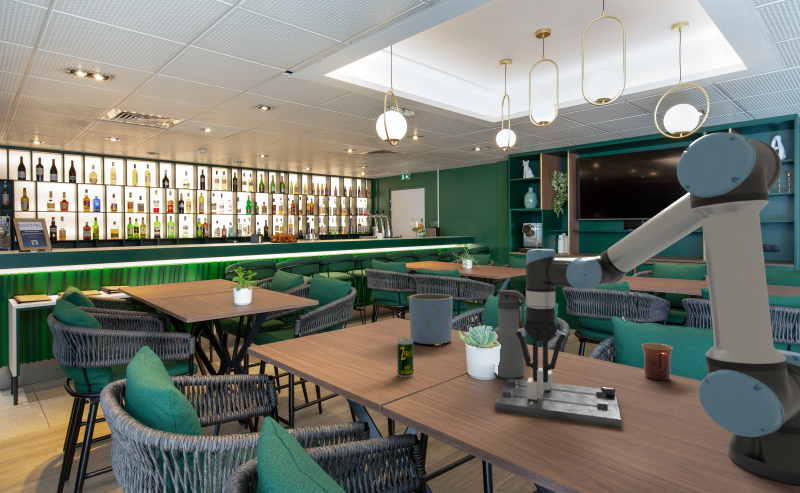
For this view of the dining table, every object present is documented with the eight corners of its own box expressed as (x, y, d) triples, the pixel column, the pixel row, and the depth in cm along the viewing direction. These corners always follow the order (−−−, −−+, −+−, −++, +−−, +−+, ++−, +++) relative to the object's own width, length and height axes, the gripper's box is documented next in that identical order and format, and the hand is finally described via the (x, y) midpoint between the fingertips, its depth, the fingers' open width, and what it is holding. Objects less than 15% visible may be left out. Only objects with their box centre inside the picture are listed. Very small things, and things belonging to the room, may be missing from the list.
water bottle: (525, 371, 151) (525, 289, 150) (525, 380, 141) (525, 292, 141) (494, 369, 153) (494, 288, 153) (492, 378, 144) (492, 292, 143)
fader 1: (536, 399, 118) (536, 382, 118) (527, 398, 119) (527, 381, 119) (538, 394, 122) (538, 378, 122) (528, 393, 123) (528, 377, 123)
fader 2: (551, 390, 125) (551, 374, 125) (541, 389, 126) (541, 373, 126) (551, 385, 129) (551, 370, 129) (542, 384, 130) (542, 369, 130)
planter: (460, 340, 198) (459, 295, 197) (440, 349, 181) (440, 300, 181) (422, 335, 208) (422, 292, 207) (401, 343, 192) (400, 297, 191)
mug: (637, 373, 148) (638, 342, 148) (666, 374, 146) (666, 343, 146) (650, 384, 136) (650, 351, 136) (682, 386, 134) (682, 352, 134)
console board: (621, 427, 106) (621, 411, 106) (494, 410, 117) (494, 395, 117) (614, 396, 126) (614, 383, 126) (507, 384, 138) (507, 372, 138)
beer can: (395, 373, 149) (395, 338, 149) (410, 372, 151) (410, 337, 151) (400, 378, 144) (399, 342, 144) (415, 377, 146) (415, 340, 145)
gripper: (566, 305, 120) (566, 391, 121) (517, 303, 125) (517, 386, 126) (565, 309, 113) (565, 401, 114) (513, 307, 118) (513, 394, 119)
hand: (540, 393), depth 120 cm, fingers closed
